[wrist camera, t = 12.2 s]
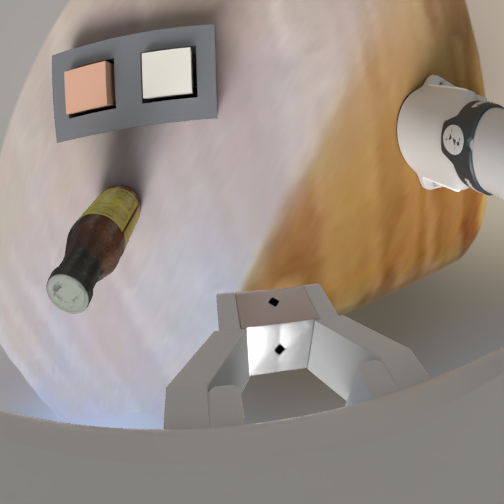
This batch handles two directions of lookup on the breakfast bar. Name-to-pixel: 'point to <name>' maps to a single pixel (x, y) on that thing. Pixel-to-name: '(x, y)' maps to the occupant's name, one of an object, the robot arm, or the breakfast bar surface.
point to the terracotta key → (90, 87)
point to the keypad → (136, 81)
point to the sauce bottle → (94, 248)
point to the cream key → (167, 73)
